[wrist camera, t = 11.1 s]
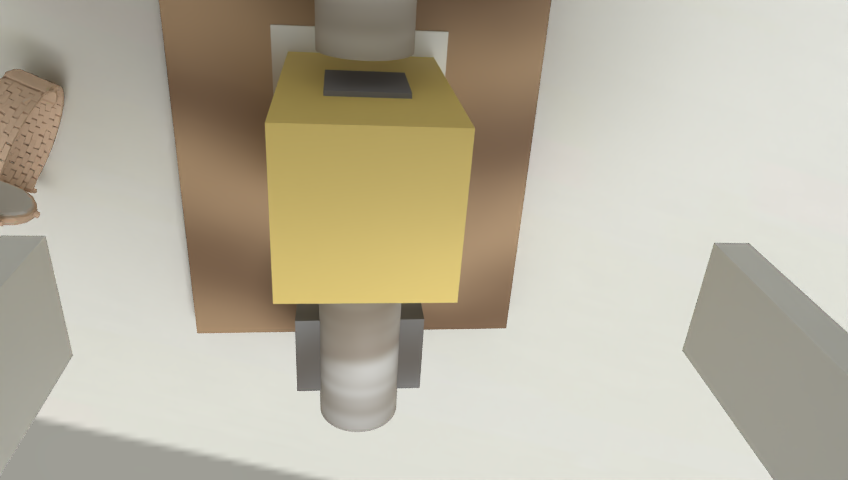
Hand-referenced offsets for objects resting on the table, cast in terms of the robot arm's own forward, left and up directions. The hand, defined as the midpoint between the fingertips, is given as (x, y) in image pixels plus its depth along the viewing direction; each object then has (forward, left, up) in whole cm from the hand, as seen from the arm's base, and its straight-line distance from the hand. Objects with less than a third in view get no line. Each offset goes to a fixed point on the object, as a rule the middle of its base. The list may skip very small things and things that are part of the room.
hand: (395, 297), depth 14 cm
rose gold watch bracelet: (+1, -12, -14) cm, 18 cm away
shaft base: (0, 0, -13) cm, 13 cm away
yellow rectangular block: (0, 0, -12) cm, 12 cm away
